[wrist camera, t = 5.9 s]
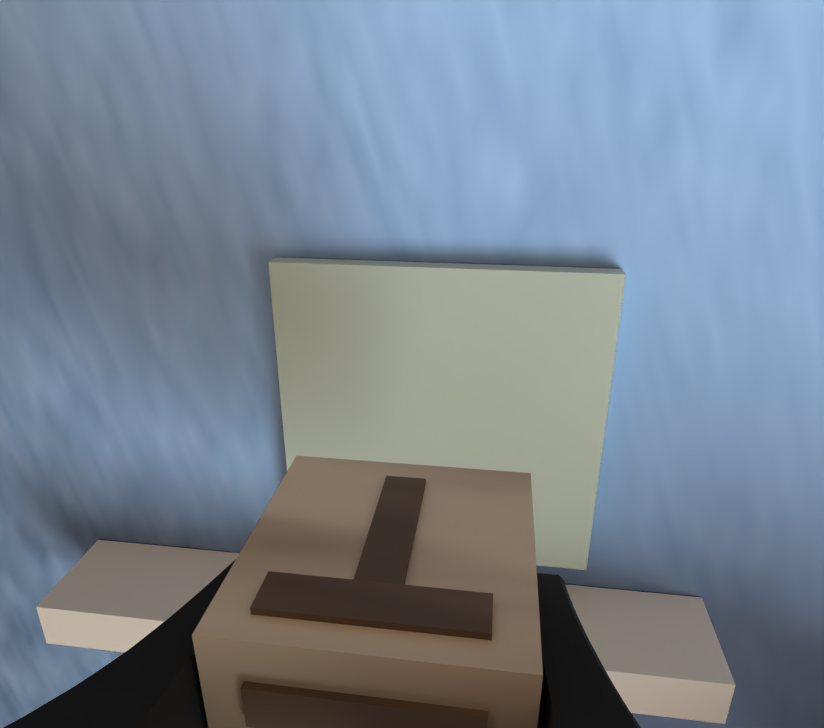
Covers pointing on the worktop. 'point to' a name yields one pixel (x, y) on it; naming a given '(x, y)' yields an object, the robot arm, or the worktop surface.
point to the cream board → (596, 607)
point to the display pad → (455, 374)
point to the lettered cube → (379, 603)
